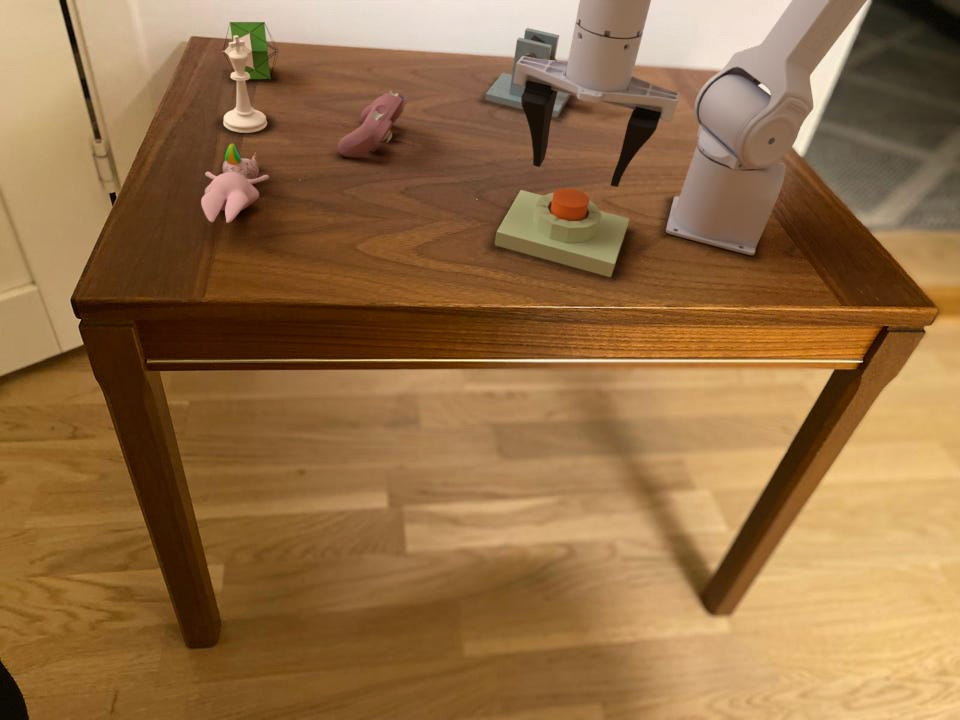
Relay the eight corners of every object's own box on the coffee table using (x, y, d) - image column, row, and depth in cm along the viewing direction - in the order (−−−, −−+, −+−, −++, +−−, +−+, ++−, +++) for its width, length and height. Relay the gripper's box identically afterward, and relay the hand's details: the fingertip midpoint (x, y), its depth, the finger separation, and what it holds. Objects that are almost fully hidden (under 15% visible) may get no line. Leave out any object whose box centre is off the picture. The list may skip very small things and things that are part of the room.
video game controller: (367, 176, 84) (395, 130, 80) (332, 152, 83) (359, 104, 79) (391, 138, 92) (419, 94, 87) (360, 116, 90) (386, 70, 86)
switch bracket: (570, 97, 103) (582, 36, 97) (556, 120, 97) (569, 56, 92) (501, 80, 104) (509, 19, 99) (484, 102, 99) (492, 38, 93)
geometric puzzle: (220, 43, 98) (216, 5, 90) (274, 43, 100) (274, 5, 92) (227, 94, 97) (224, 60, 89) (281, 92, 99) (282, 59, 91)
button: (588, 208, 76) (592, 193, 74) (581, 226, 73) (585, 210, 72) (554, 199, 76) (557, 184, 75) (546, 216, 74) (549, 201, 72)
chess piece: (215, 119, 87) (203, 31, 80) (253, 110, 90) (245, 25, 83) (236, 136, 85) (226, 48, 78) (275, 127, 87) (268, 40, 80)
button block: (625, 232, 79) (634, 203, 77) (610, 278, 73) (619, 248, 70) (518, 203, 81) (523, 174, 79) (494, 245, 74) (498, 215, 72)
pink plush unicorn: (215, 178, 80) (186, 237, 68) (210, 123, 77) (177, 174, 64) (275, 181, 81) (256, 240, 69) (272, 127, 78) (251, 178, 65)
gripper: (514, 21, 61) (493, 171, 70) (690, 61, 58) (644, 210, 68) (535, -3, 66) (513, 140, 75) (698, 34, 63) (655, 176, 73)
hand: (576, 171), depth 72 cm, fingers open, 7 cm apart
